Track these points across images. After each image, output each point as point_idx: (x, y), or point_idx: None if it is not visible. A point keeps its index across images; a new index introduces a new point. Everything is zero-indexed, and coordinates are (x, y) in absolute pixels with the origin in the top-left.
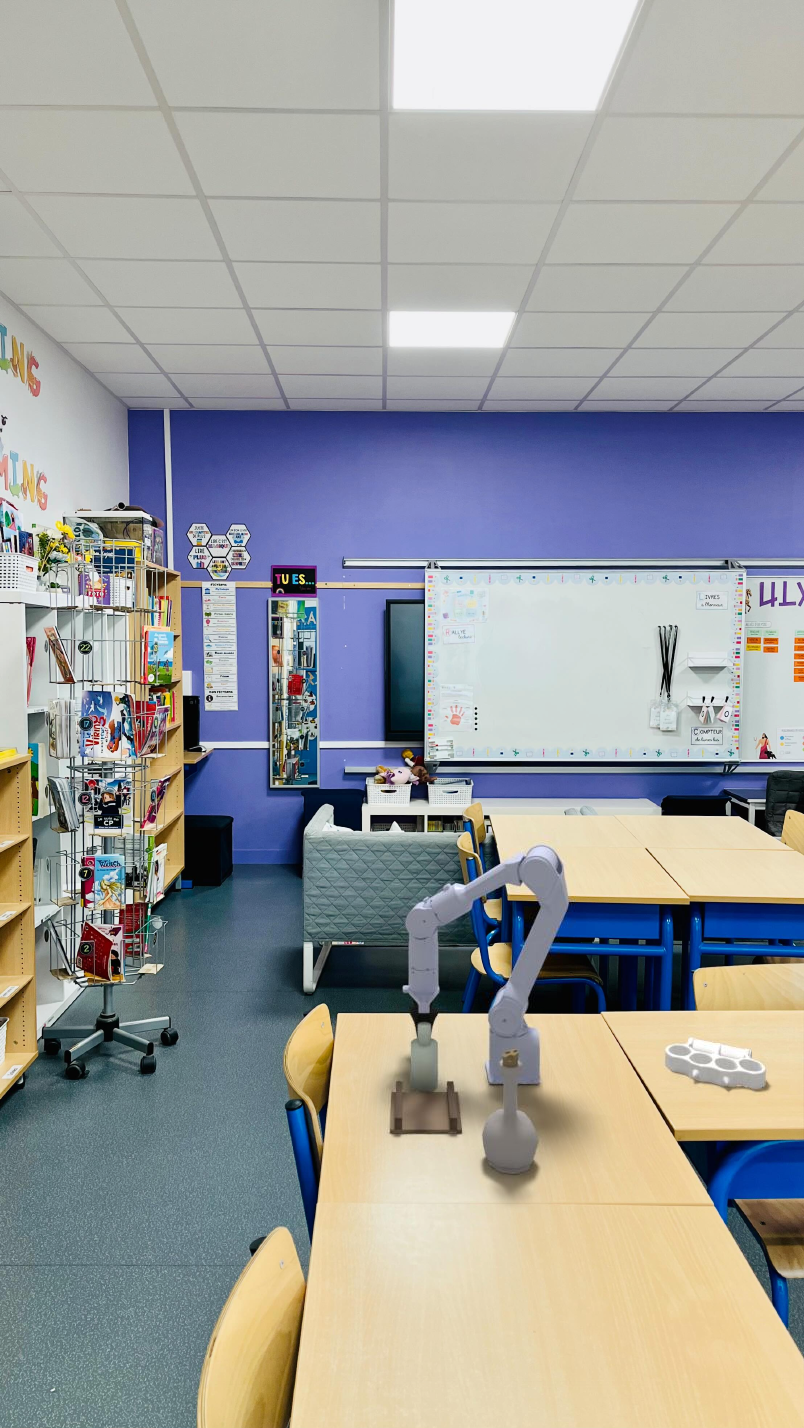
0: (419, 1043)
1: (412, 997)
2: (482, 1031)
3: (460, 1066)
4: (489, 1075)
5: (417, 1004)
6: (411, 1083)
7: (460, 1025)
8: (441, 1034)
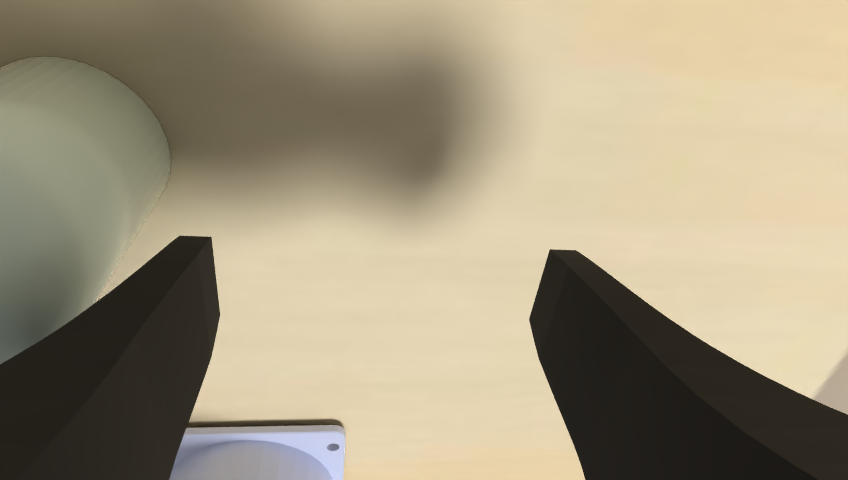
0: None
1: (737, 437)
2: None
3: (327, 334)
4: (204, 440)
5: (652, 398)
6: (8, 67)
7: (739, 356)
8: (687, 276)
